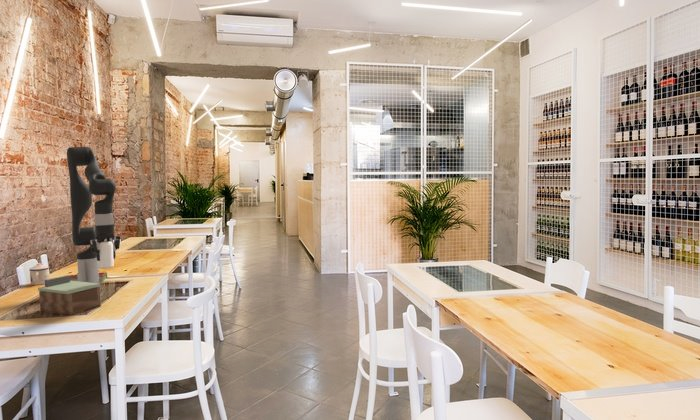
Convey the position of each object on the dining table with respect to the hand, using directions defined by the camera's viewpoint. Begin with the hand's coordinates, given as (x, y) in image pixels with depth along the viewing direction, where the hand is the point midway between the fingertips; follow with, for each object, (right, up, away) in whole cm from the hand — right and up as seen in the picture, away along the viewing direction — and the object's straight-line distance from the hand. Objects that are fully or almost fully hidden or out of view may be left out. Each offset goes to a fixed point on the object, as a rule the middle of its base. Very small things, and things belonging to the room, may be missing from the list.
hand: (106, 260), depth 202 cm
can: (0, -3, 0) cm, 3 cm away
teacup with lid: (-65, -19, +49) cm, 84 cm away
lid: (-14, -12, -4) cm, 19 cm away
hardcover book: (-42, -19, +53) cm, 70 cm away
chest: (-14, -21, -4) cm, 26 cm away
